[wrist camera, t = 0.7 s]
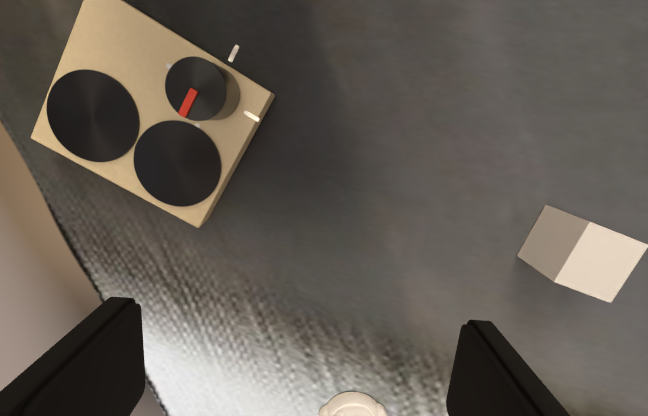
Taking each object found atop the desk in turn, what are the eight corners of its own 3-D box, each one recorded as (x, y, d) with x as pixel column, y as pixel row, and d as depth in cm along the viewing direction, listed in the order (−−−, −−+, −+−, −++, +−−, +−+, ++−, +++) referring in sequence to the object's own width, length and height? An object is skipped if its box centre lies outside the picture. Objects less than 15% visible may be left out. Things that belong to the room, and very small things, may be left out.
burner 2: (156, 102, 29) (154, 102, 29) (236, 149, 31) (235, 149, 30) (121, 178, 31) (119, 179, 31) (198, 220, 32) (197, 221, 32)
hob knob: (201, 54, 28) (178, 42, 24) (249, 83, 29) (236, 77, 24) (178, 102, 29) (152, 100, 25) (225, 129, 30) (208, 132, 25)
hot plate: (120, -27, 30) (98, -43, 27) (287, 78, 32) (283, 74, 29) (55, 136, 33) (28, 138, 30) (210, 220, 35) (199, 230, 32)
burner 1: (67, 51, 28) (65, 50, 28) (154, 101, 29) (152, 101, 29) (36, 132, 30) (33, 132, 30) (119, 177, 31) (117, 178, 31)
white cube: (595, 223, 36) (649, 245, 30) (565, 273, 37) (611, 303, 32) (545, 204, 35) (590, 221, 30) (516, 255, 37) (553, 282, 31)
